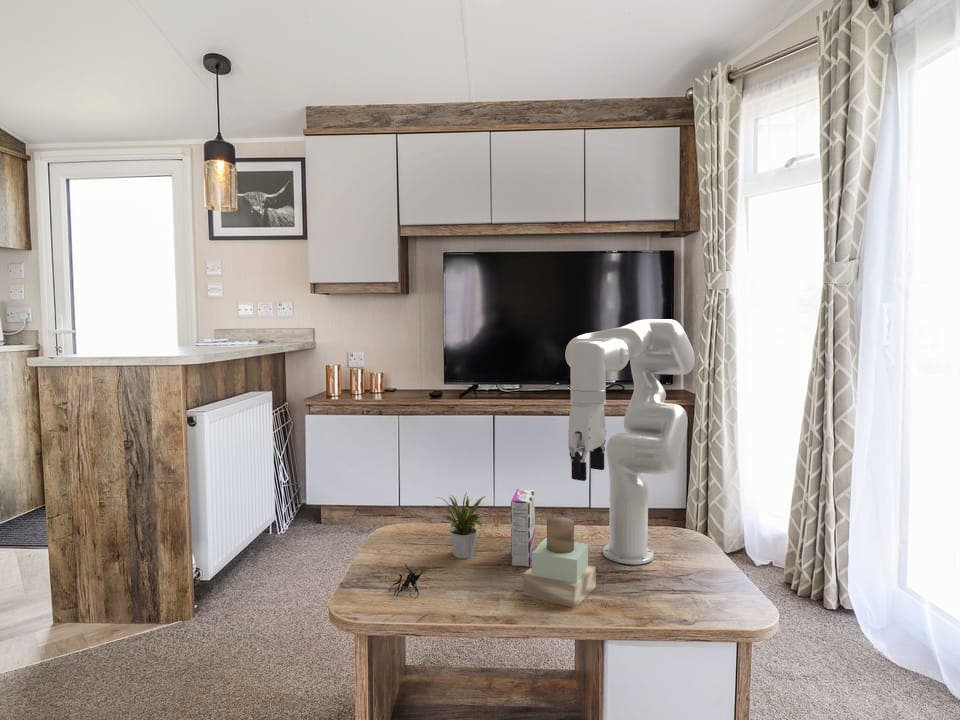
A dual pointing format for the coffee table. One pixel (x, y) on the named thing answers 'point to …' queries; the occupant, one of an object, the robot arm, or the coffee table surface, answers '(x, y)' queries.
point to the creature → (408, 581)
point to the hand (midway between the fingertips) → (588, 474)
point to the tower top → (560, 562)
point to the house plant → (463, 528)
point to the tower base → (560, 587)
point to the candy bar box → (522, 527)
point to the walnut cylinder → (560, 535)
